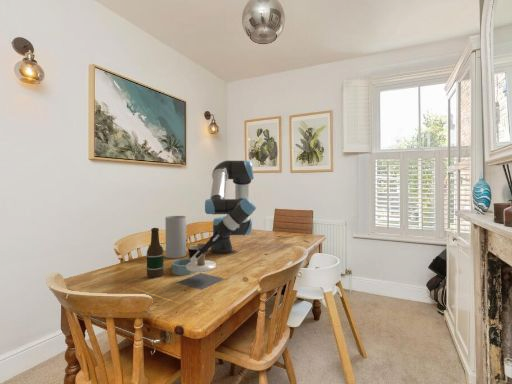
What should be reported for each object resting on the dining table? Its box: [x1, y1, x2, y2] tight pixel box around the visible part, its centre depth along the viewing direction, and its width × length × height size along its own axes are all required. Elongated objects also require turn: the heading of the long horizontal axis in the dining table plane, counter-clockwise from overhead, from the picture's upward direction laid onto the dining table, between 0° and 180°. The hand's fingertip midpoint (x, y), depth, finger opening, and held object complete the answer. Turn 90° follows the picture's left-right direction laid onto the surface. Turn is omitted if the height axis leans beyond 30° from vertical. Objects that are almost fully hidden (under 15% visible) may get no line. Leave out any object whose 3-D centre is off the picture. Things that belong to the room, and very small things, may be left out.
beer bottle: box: [146, 227, 165, 280], centre depth 135 cm, size 8×8×24 cm
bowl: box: [171, 258, 197, 276], centre depth 143 cm, size 12×12×5 cm
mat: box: [175, 272, 225, 291], centre depth 129 cm, size 16×16×1 cm
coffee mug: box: [187, 245, 197, 259], centre depth 156 cm, size 12×9×10 cm
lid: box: [186, 242, 217, 273], centre depth 128 cm, size 14×14×11 cm
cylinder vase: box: [165, 215, 187, 259], centre depth 173 cm, size 12×12×25 cm
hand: (193, 260), depth 128 cm, fingers closed on lid, 3 cm apart
